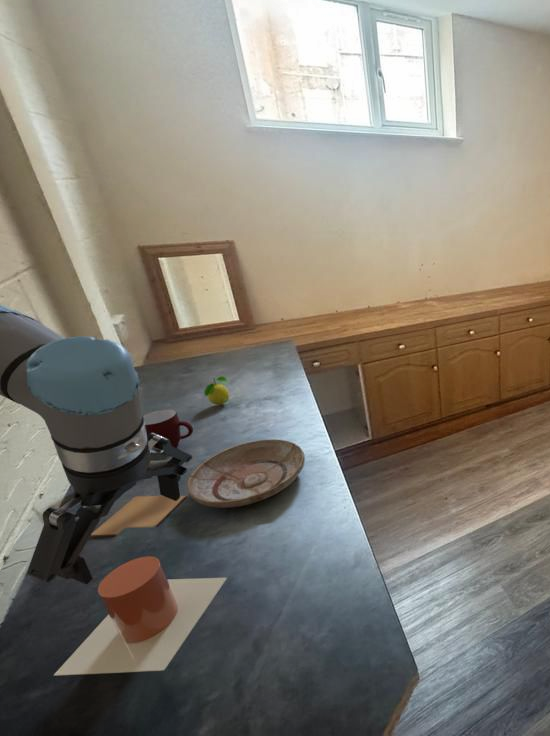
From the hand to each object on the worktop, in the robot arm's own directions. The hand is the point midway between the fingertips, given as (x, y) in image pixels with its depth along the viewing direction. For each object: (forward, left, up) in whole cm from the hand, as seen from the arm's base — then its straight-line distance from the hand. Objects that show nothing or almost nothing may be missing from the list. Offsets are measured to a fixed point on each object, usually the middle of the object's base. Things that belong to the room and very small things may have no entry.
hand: (129, 533), depth 60 cm
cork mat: (-20, +22, -17) cm, 34 cm away
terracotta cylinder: (0, -2, -16) cm, 16 cm away
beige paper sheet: (0, -2, -17) cm, 17 cm away
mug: (-31, +47, -17) cm, 59 cm away
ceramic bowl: (-2, +31, -17) cm, 36 cm away
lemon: (-33, +71, -17) cm, 80 cm away
